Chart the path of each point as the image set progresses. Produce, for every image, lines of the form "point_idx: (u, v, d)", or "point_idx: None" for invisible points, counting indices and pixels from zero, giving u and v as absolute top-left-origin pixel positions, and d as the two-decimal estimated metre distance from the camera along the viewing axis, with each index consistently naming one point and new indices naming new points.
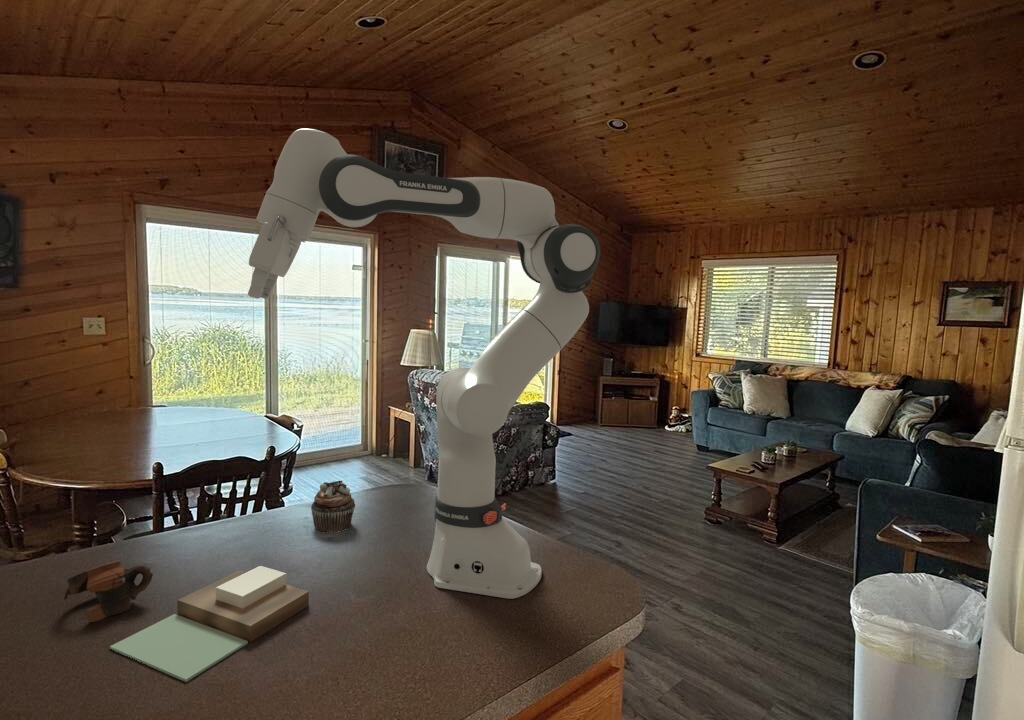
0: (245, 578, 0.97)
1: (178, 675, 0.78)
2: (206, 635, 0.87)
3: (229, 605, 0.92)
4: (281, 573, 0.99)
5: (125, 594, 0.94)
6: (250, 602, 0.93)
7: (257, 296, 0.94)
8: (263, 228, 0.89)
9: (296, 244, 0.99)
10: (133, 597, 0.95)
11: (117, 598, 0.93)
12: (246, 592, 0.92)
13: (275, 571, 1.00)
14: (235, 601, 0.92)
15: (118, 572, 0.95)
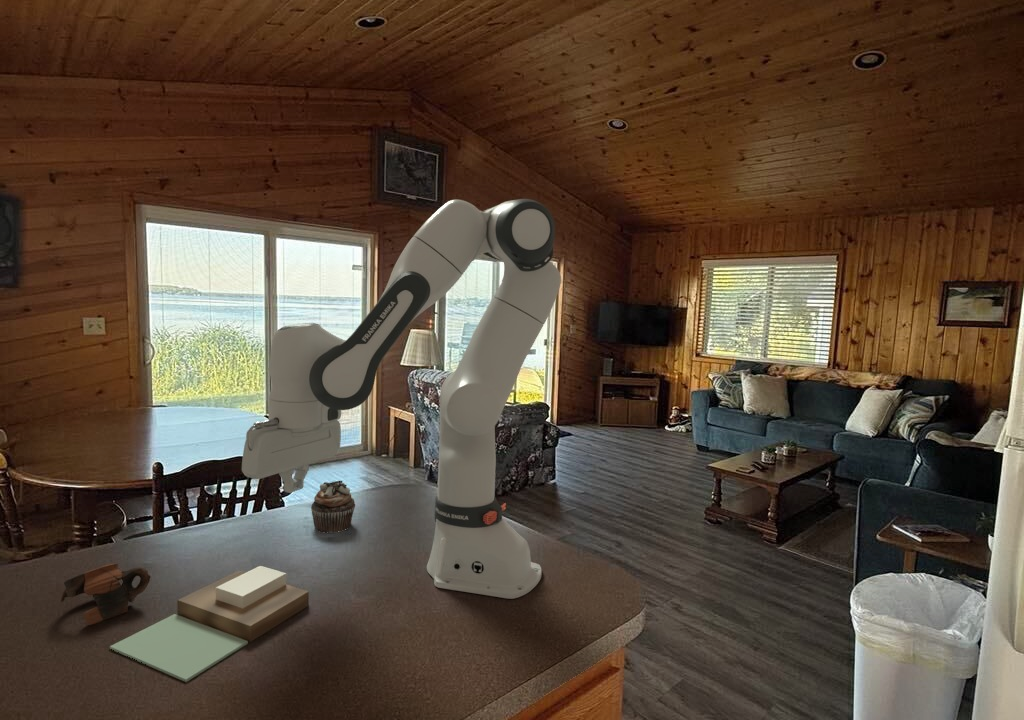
0: (245, 578, 0.97)
1: (178, 675, 0.78)
2: (206, 635, 0.87)
3: (229, 605, 0.92)
4: (281, 573, 0.99)
5: (123, 597, 0.93)
6: (250, 602, 0.93)
7: (290, 491, 1.02)
8: (246, 440, 0.95)
9: (303, 434, 1.01)
10: (131, 599, 0.94)
11: (115, 600, 0.92)
12: (246, 592, 0.92)
13: (275, 571, 1.00)
14: (235, 601, 0.92)
15: (115, 574, 0.94)
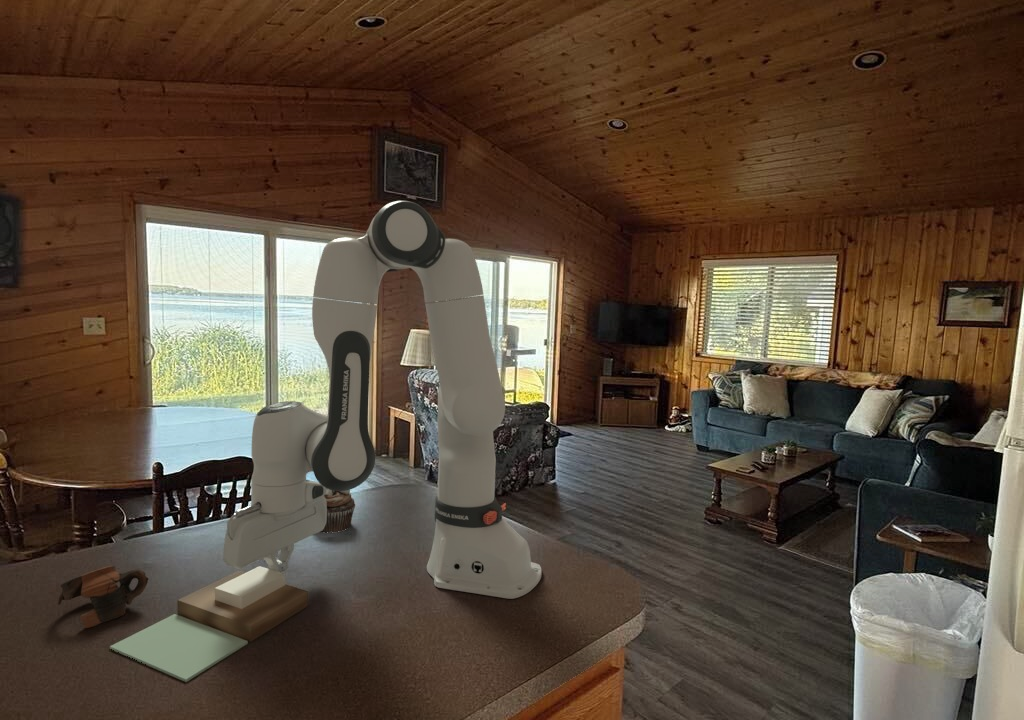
0: (244, 579, 0.97)
1: (178, 675, 0.78)
2: (206, 635, 0.87)
3: (229, 605, 0.92)
4: (280, 573, 0.99)
5: (120, 599, 0.92)
6: (249, 603, 0.93)
7: None
8: None
9: (286, 517, 0.99)
10: (128, 602, 0.94)
11: (113, 603, 0.91)
12: (245, 592, 0.92)
13: (274, 571, 1.00)
14: (234, 602, 0.92)
15: (113, 577, 0.93)
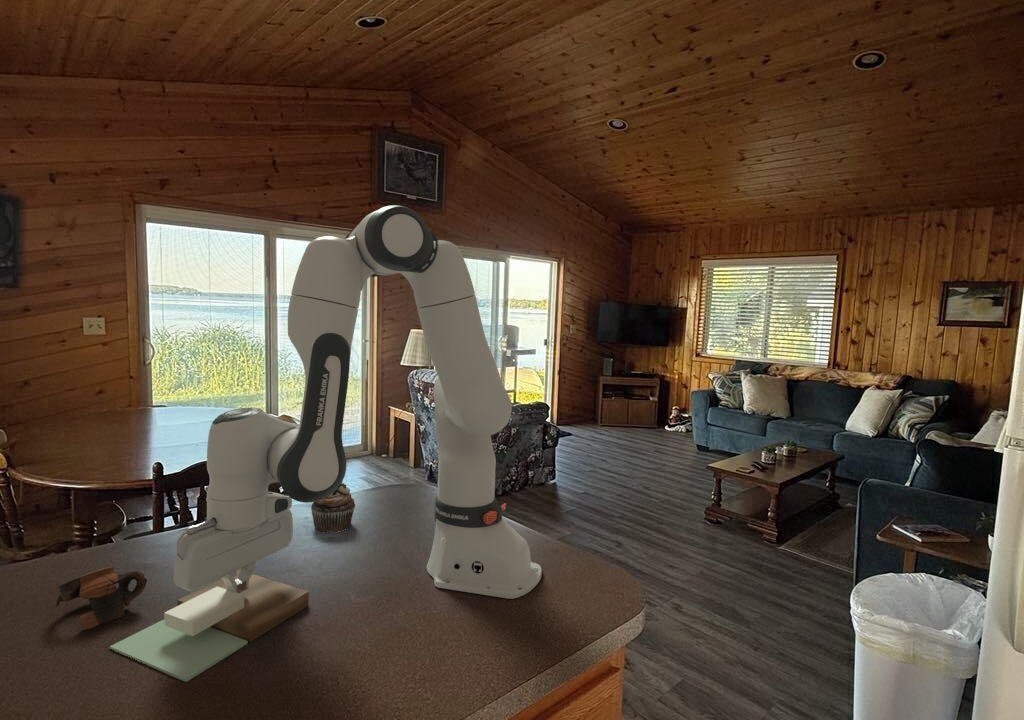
0: (198, 602, 0.89)
1: (178, 675, 0.78)
2: (206, 635, 0.87)
3: None
4: (238, 595, 0.91)
5: (119, 601, 0.92)
6: (201, 629, 0.85)
7: None
8: None
9: (245, 534, 0.91)
10: (127, 603, 0.93)
11: (111, 604, 0.91)
12: (197, 618, 0.85)
13: (232, 593, 0.92)
14: (184, 628, 0.84)
15: (111, 578, 0.93)
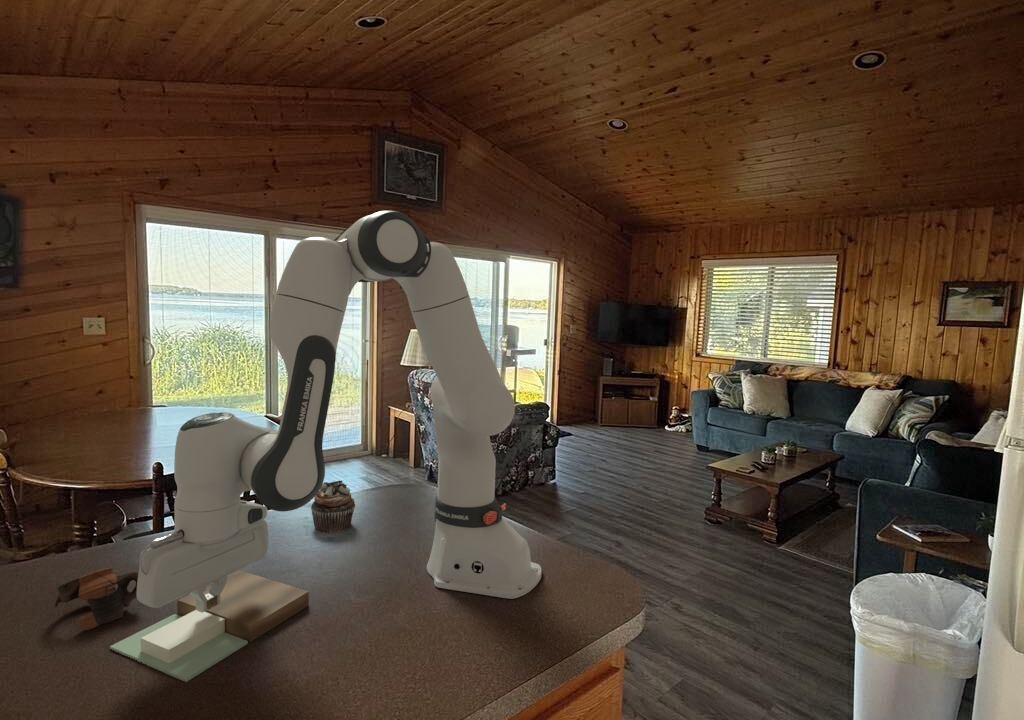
0: (176, 626, 0.86)
1: (178, 675, 0.78)
2: None
3: (229, 605, 0.92)
4: (219, 619, 0.88)
5: (118, 602, 0.92)
6: (178, 655, 0.82)
7: (202, 610, 0.88)
8: None
9: (215, 546, 0.86)
10: (126, 604, 0.93)
11: (110, 605, 0.90)
12: (174, 644, 0.81)
13: (213, 616, 0.89)
14: (161, 655, 0.81)
15: (111, 579, 0.92)
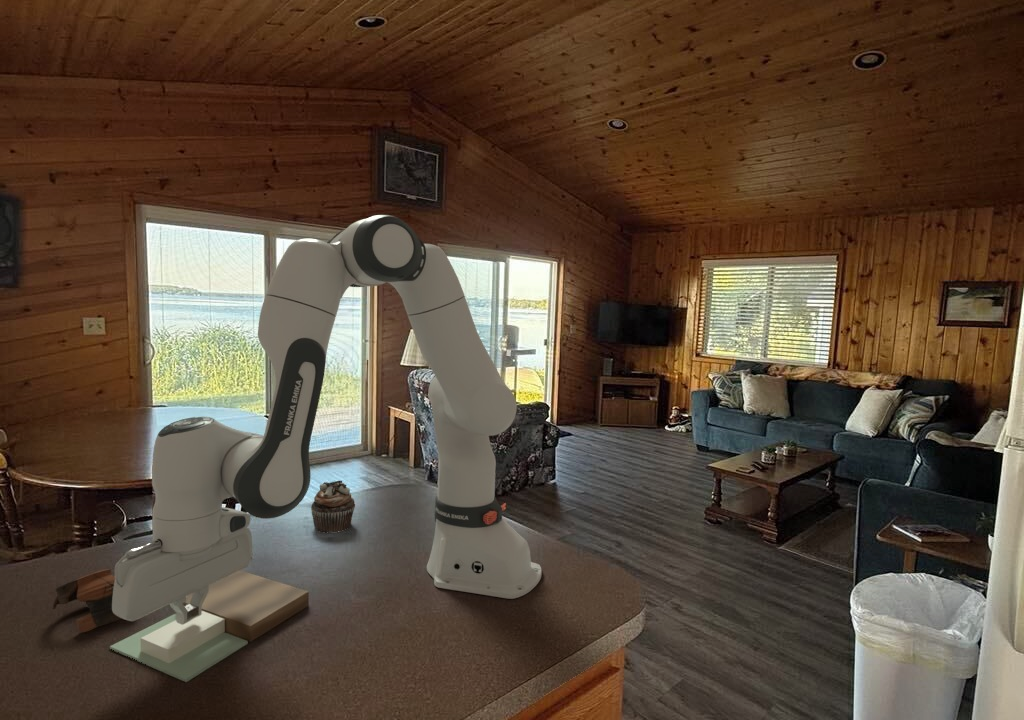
0: (176, 626, 0.86)
1: (178, 675, 0.78)
2: None
3: (229, 605, 0.92)
4: (219, 619, 0.88)
5: None
6: (178, 655, 0.82)
7: (182, 622, 0.85)
8: None
9: (195, 556, 0.83)
10: None
11: (109, 607, 0.90)
12: (174, 644, 0.81)
13: (213, 616, 0.89)
14: (161, 655, 0.81)
15: (109, 580, 0.92)
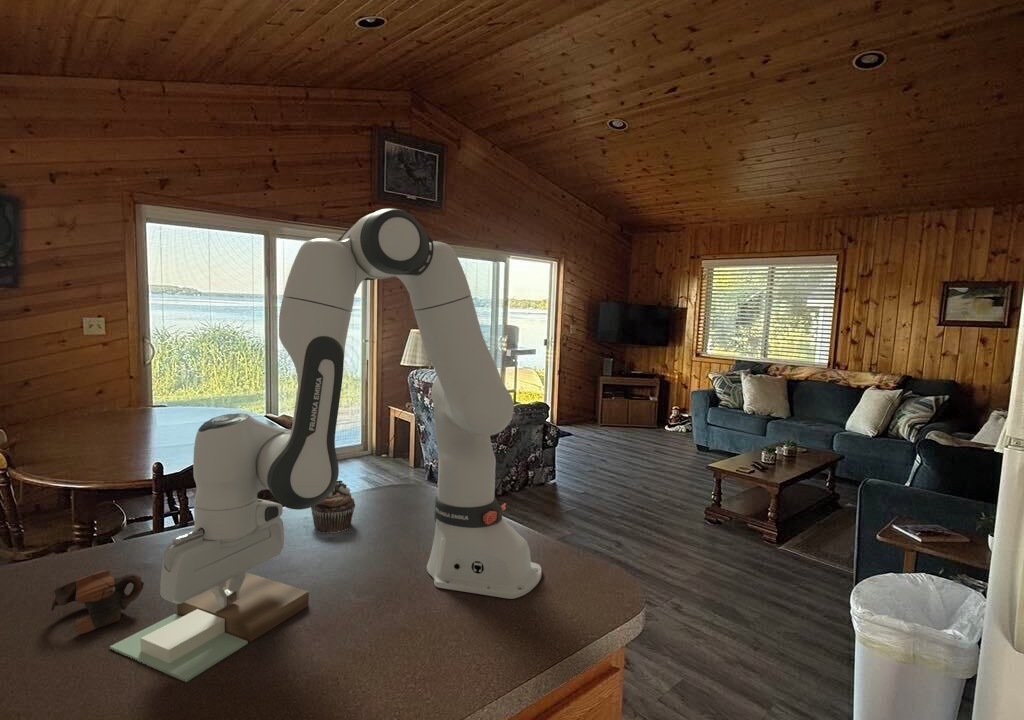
0: (176, 626, 0.86)
1: (178, 675, 0.78)
2: None
3: (229, 605, 0.92)
4: (219, 619, 0.88)
5: (116, 605, 0.91)
6: (178, 655, 0.82)
7: (222, 605, 0.90)
8: None
9: (234, 544, 0.89)
10: (124, 607, 0.92)
11: (108, 608, 0.90)
12: (174, 644, 0.81)
13: (213, 616, 0.89)
14: (161, 655, 0.81)
15: (108, 581, 0.91)
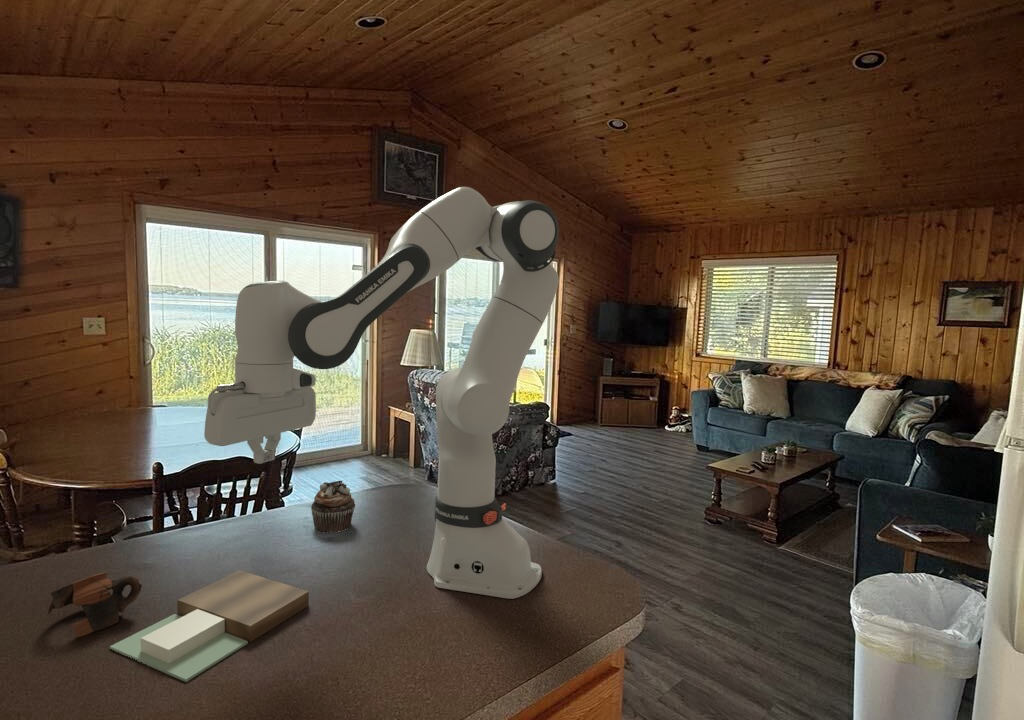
0: (176, 626, 0.86)
1: (178, 675, 0.78)
2: None
3: (229, 605, 0.92)
4: (219, 619, 0.88)
5: (113, 607, 0.90)
6: (178, 655, 0.82)
7: (260, 461, 0.95)
8: None
9: (272, 400, 0.94)
10: (121, 609, 0.91)
11: (105, 611, 0.89)
12: (174, 644, 0.81)
13: (213, 616, 0.89)
14: (161, 655, 0.81)
15: (105, 584, 0.91)
